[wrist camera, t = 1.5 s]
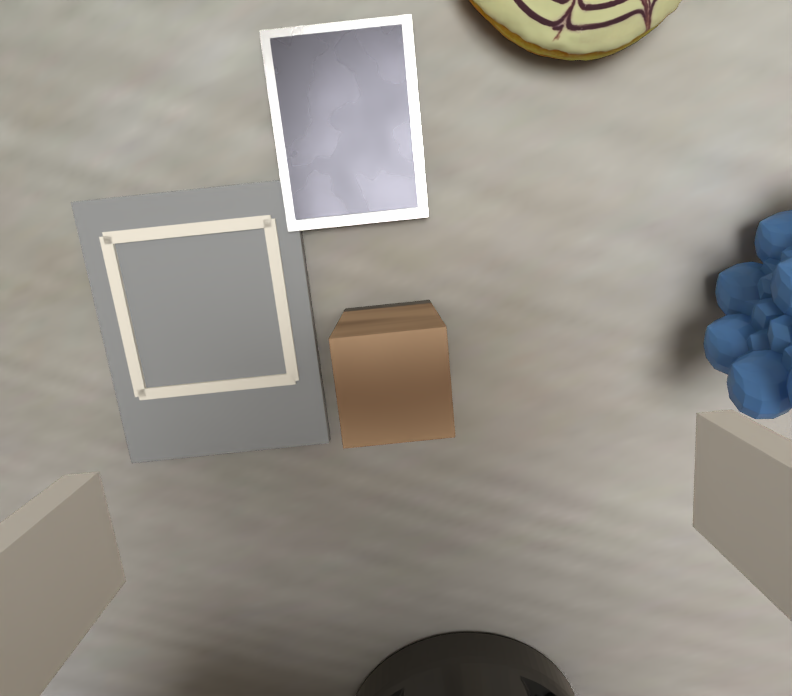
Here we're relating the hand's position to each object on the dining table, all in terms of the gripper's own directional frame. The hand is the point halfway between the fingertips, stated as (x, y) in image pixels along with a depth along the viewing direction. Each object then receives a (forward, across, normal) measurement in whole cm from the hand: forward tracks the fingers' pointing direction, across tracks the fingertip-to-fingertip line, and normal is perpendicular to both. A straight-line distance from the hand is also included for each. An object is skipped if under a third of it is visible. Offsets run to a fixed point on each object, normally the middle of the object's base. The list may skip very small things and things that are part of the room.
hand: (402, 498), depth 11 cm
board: (+17, +10, -2) cm, 19 cm away
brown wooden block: (+17, 0, 0) cm, 17 cm away
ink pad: (+17, +1, -11) cm, 20 cm away
